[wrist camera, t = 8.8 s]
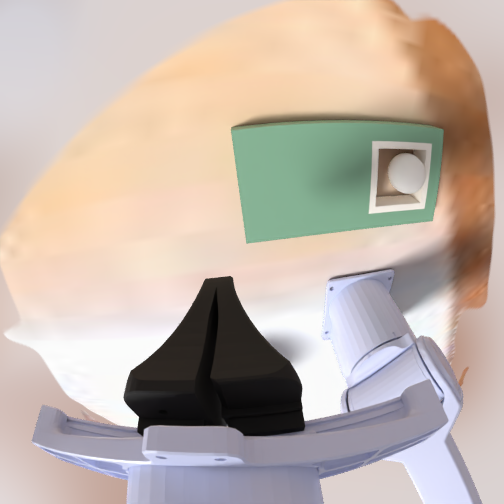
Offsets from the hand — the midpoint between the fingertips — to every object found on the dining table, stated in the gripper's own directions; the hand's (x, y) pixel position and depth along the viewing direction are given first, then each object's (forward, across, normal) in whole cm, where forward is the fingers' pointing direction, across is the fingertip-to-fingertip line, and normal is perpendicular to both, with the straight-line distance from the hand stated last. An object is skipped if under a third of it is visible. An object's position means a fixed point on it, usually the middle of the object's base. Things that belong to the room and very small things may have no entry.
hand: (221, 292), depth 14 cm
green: (+10, -10, -2) cm, 15 cm away
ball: (+9, -16, -3) cm, 18 cm away
